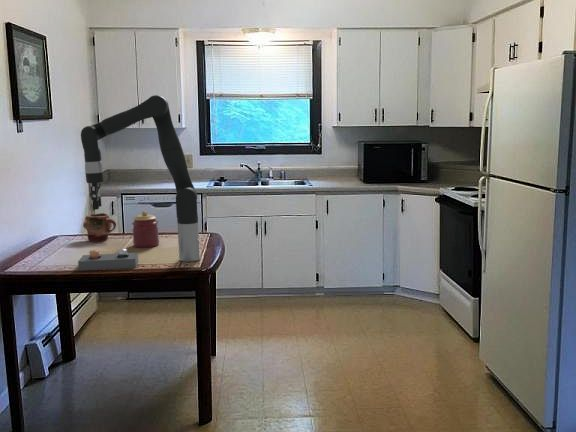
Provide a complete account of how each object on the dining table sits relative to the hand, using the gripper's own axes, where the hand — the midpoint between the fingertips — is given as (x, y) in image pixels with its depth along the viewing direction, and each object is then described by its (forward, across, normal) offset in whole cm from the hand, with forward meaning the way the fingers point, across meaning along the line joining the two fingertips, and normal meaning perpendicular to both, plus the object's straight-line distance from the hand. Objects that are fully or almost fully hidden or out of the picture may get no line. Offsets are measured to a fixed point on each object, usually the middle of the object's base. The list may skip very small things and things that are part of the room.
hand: (97, 207), depth 275 cm
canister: (+26, +33, -17) cm, 45 cm away
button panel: (+25, -7, -4) cm, 26 cm away
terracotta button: (+21, -7, +2) cm, 22 cm away
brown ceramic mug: (+25, +52, +8) cm, 58 cm away
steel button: (+21, -7, -10) cm, 24 cm away
